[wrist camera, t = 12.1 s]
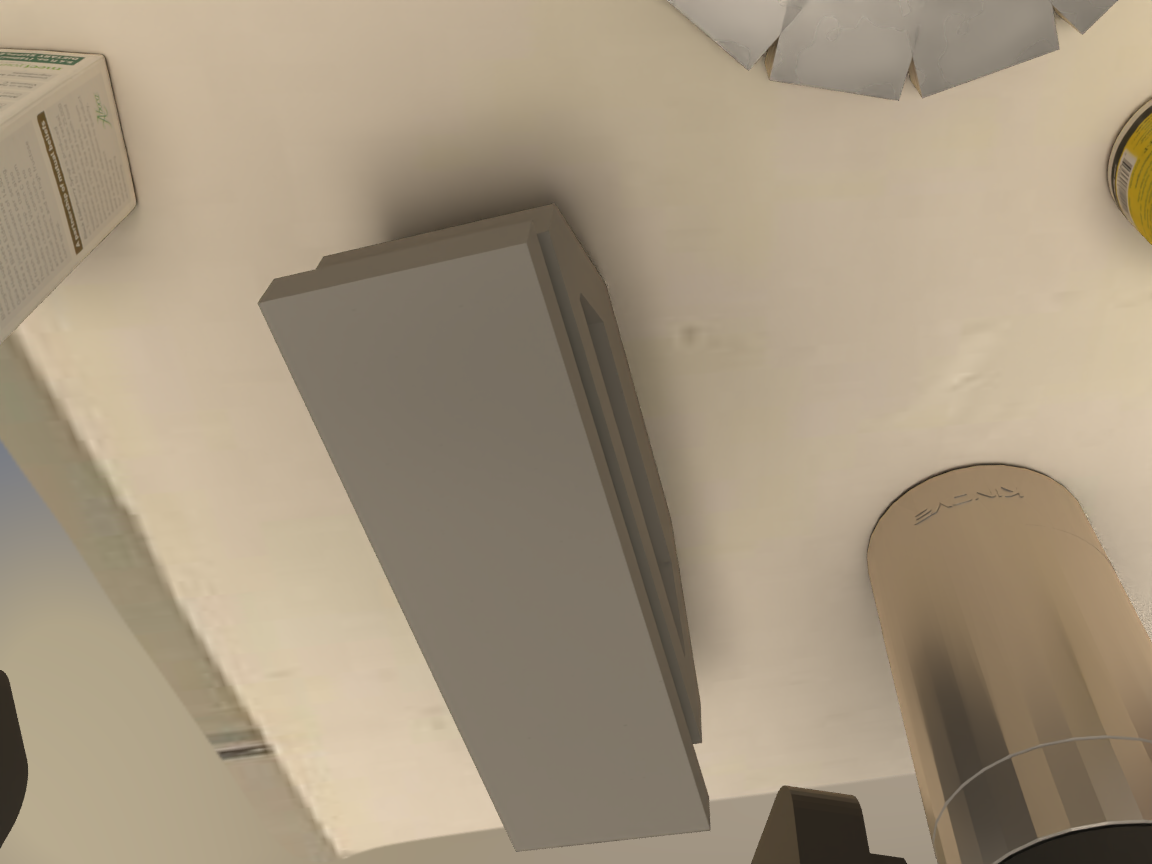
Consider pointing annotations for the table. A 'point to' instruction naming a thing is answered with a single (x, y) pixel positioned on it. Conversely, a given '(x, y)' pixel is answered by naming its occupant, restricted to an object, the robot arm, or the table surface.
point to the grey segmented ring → (886, 38)
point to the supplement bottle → (1134, 171)
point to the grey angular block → (512, 513)
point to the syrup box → (55, 172)
